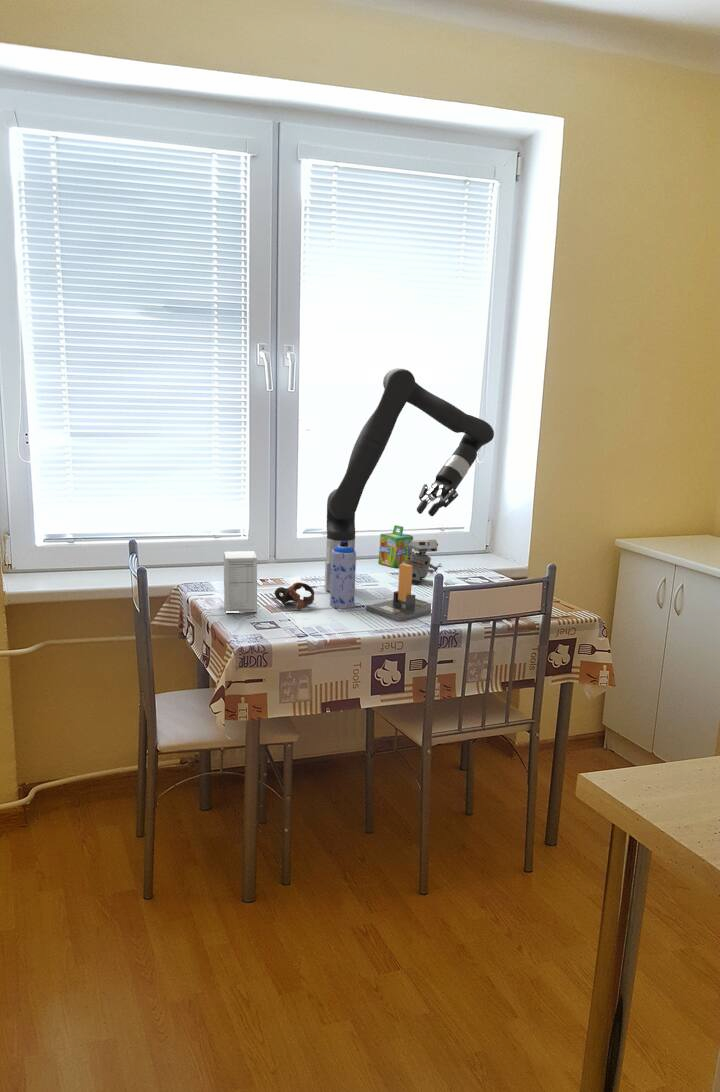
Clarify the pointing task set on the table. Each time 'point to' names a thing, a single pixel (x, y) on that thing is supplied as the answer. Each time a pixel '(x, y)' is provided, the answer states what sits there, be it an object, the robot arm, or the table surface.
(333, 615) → the table surface
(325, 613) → the table surface
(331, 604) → the blue patterned bottle
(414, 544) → the figurine
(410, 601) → the plate
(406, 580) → the lever
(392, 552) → the chalk box
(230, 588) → the supplement box
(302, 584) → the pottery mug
